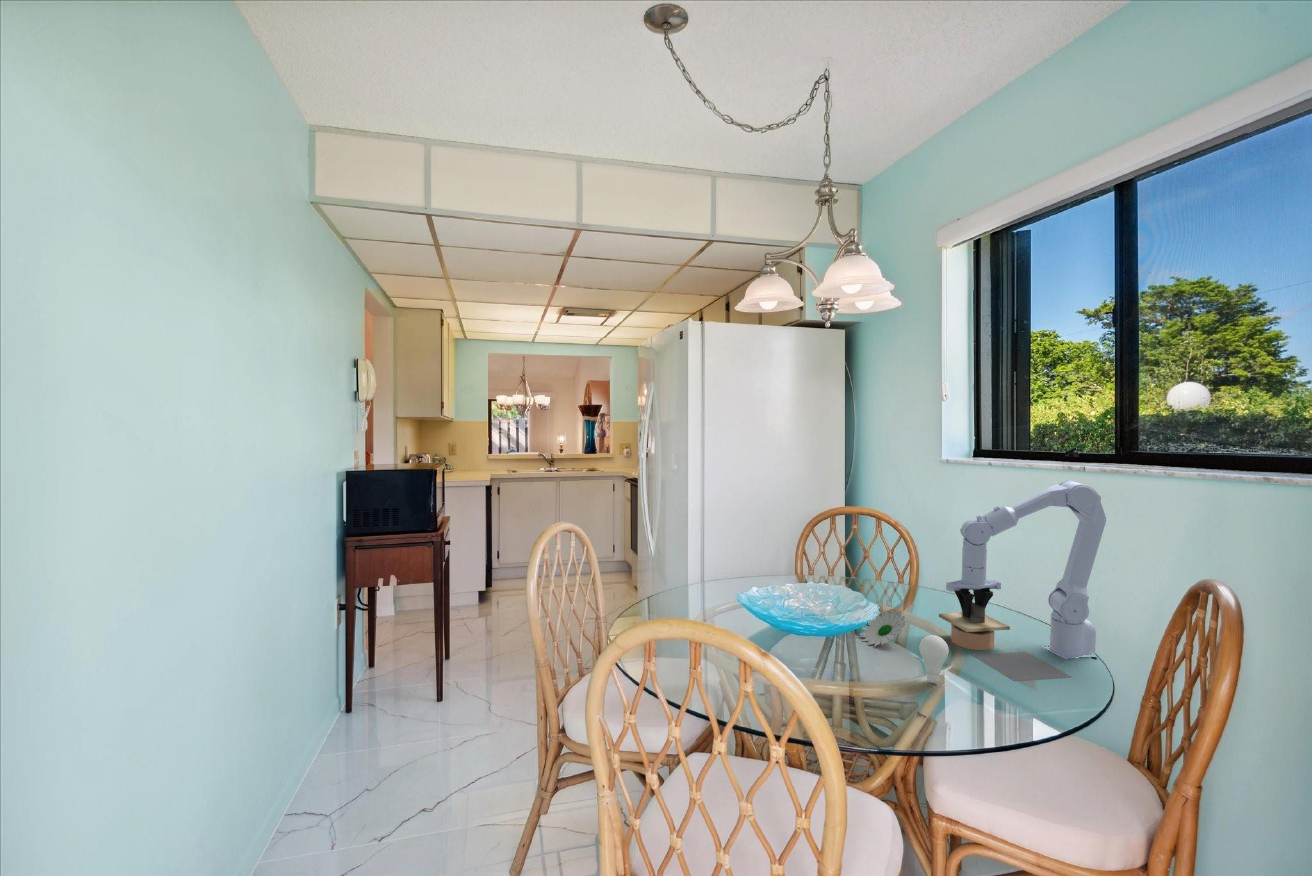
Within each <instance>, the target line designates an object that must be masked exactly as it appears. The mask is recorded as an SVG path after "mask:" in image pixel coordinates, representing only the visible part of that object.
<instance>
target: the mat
mask: <svg viewBox="0 0 1312 876" xmlns="http://www.w3.org/2000/svg"><path fill="white" fill-rule="evenodd" d="M971 656H972V657H974V658H976V659H977V660H979V661H980V662H982V663H984V664H985V665H987V666H989V667H990V668H992V669H994V670H995V671H997V672H998V673H1000V674H1002V675H1004V676H1005V677H1006V678H1008V679H1010V680H1011V681H1013V682H1025V681H1037V680H1038V681H1039V680H1051V679H1054V680H1055V679H1068V678H1073V676H1072V675H1070V674H1068V673H1066V672H1064V671H1063V670H1060V669H1058V668H1057V667H1055V666H1053V665H1051V664H1050V663H1047V662H1045V661H1043V660H1041V659H1040V658H1038V657H1036V656H1034V655H1033V654H1030V653H1029V652H1026V651H1015V652H1014V651H1012V652H1011V651H1010V652H999V653H998V652H997V653H996V652H995V653H981V654H978V653H977V654H971Z"/></svg>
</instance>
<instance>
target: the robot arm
mask: <svg viewBox="0 0 1312 876" xmlns="http://www.w3.org/2000/svg"><path fill="white" fill-rule="evenodd" d="M1049 507H1062V508H1069V509H1070V510H1071V512H1072V513H1073V514H1074V515H1075V517H1076V518H1077V519H1078V520H1079V522H1078V524H1077V528H1076V530H1075V531H1076V532H1075V535H1074V538H1073V542H1072V545H1071V548H1070V552H1069V555H1068V558H1067V562H1066V566H1065V569H1064V572H1063V575H1062V578H1061V579H1060V580H1059V581H1058V582H1057V583H1056V585H1055V588H1054V590H1052V591H1051V592H1050V593H1049V595H1048V599H1047V601H1048V604H1049V607H1051V609H1052V612H1051V614H1050V629H1049V631H1050V632H1049V646H1050V647H1047V646H1048V645H1041V648H1042V649H1044V650H1046V649H1050V650H1049V651H1048V652H1050V651H1051V652H1050V653H1052V654H1054V655H1057V656H1058V657H1060V658H1062V659H1064V660H1070V659H1069V658H1075V659H1077V658H1076V657H1079V656H1083V655H1089V654H1090V655H1091V654H1092V653H1094V654H1095V655H1096V641H1097V640H1096V637H1097V632H1096V627H1095V626H1094V624H1093V623H1092V621H1090V620H1089V619H1088V617H1089V615H1090V609H1089V604H1088V603H1089V599H1090V598H1089V597H1090V596H1089V591H1088V588H1087V587H1088V582H1089V580H1090V576H1091V573H1092V570H1093V566H1094V563H1095V560H1096V556H1097V552H1098V550H1099V547H1100V542H1101V540H1102V537H1103V533H1104V530H1105V527H1106V523H1107V517H1106V513H1105V509H1104V508H1103V504H1102V496H1101V495H1100V494H1099V493H1098V491H1096V490H1095V489H1094V487H1092V486H1090V485H1088V484H1084V483H1079V482H1078V481H1075V480H1069V479H1068V480H1064V481H1062V482H1061V481H1060V483H1059V484H1058V483H1057V484H1054V485H1051V486H1049V487H1047V488H1046V489H1044V490H1042V491H1040V492H1038V493H1036V494H1034V495H1033V496H1030V497H1028V498H1027V499H1025V500H1023V501H1021V502H1019V503H1016V504H1015V505H1014V506H1010V507H1008V506H1005V505H1002V506H1001V507H1000V506H998V505H997V506H994V507H993V510H991V511H989V512H987V513H985V514H984V515H976V516H975V518H976V519H968V520H965V522H964V523H963V524H962V526H961V528H960V534H961V536H962V537H963V540H962V544H963V545H962V548H961V549H962V551H961V554H962V555H961V556H962V557H961V558H962V559H961V578H960V580H959V579H958V580H955V581H948V582H945V583H946V584H945V586H946V587H945V590H946V591H949V592H954V593H955V595H956V597H957V600H958V602H959V604H960V608H961V613H963V616H964V617H966V618H970V616H971V605H972V602H973V600H974V603H976V604H978V605H980V606H982V607H985V609H986V608H987V605H988V604H989V601H990V600H991V599H992V597H994V591H992V590H1002V582H1001V581H999V580H997V579H995V580H989V579H987V557H988V552H987V543H988V542H989V541H990V539H991V537H994V536H997V535H999V534H1001V533H1003V532H1005V531H1007V530H1009V529H1011V528H1015V527H1016V526H1017V524H1018V522H1019V520H1020V519H1021V518H1025V517H1026V516H1029V515H1031V514H1034V513H1036V512H1038V511H1041V510H1044V509H1046V508H1049ZM971 591H972V593H971ZM1044 646H1046V647H1044ZM1090 651H1091V652H1092V653H1091V652H1090Z"/></svg>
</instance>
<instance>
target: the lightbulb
mask: <svg viewBox="0 0 1312 876" xmlns="http://www.w3.org/2000/svg"><path fill="white" fill-rule="evenodd" d="M918 648H919V653H920V655H921V657H922V659H923V661H924V664H925V671H926V679H927V681H928V682H929V683H930V684H932V683H934V684H937V683H939V682H940V675H941V673H942V667H943V665H944V663H945V662H946V660H947V659H948V657H949V652H950V649H949V646H948V643H947V642H946V641H945V640H944V639H943V638H942V637H940V636H938V635H934V634H930V635H927V636H924V637H923V638H921V640H920V642H919V647H918ZM934 684H933V685H934Z"/></svg>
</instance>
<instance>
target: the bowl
mask: <svg viewBox="0 0 1312 876" xmlns="http://www.w3.org/2000/svg"><path fill="white" fill-rule="evenodd" d="M950 641H951V643H953V644H955V645H956V646H957V647H962V648H964V649H968V650H974V651H975V650H976V651H989V650H991V649H993V648H995V631H977V632H966V631H964V630H962V629H961V628H959V627H957V626H955V625H953V624H951V623H950Z"/></svg>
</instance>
